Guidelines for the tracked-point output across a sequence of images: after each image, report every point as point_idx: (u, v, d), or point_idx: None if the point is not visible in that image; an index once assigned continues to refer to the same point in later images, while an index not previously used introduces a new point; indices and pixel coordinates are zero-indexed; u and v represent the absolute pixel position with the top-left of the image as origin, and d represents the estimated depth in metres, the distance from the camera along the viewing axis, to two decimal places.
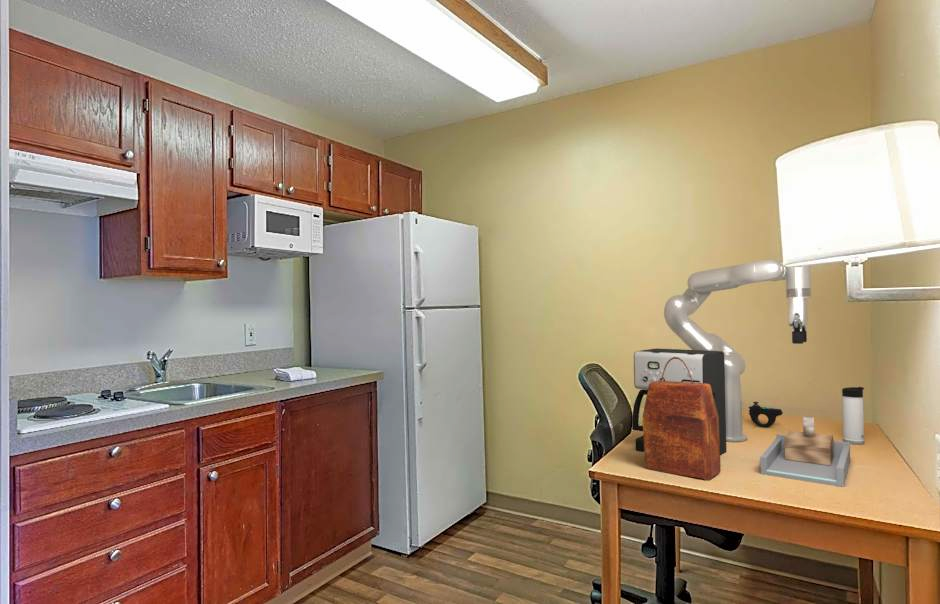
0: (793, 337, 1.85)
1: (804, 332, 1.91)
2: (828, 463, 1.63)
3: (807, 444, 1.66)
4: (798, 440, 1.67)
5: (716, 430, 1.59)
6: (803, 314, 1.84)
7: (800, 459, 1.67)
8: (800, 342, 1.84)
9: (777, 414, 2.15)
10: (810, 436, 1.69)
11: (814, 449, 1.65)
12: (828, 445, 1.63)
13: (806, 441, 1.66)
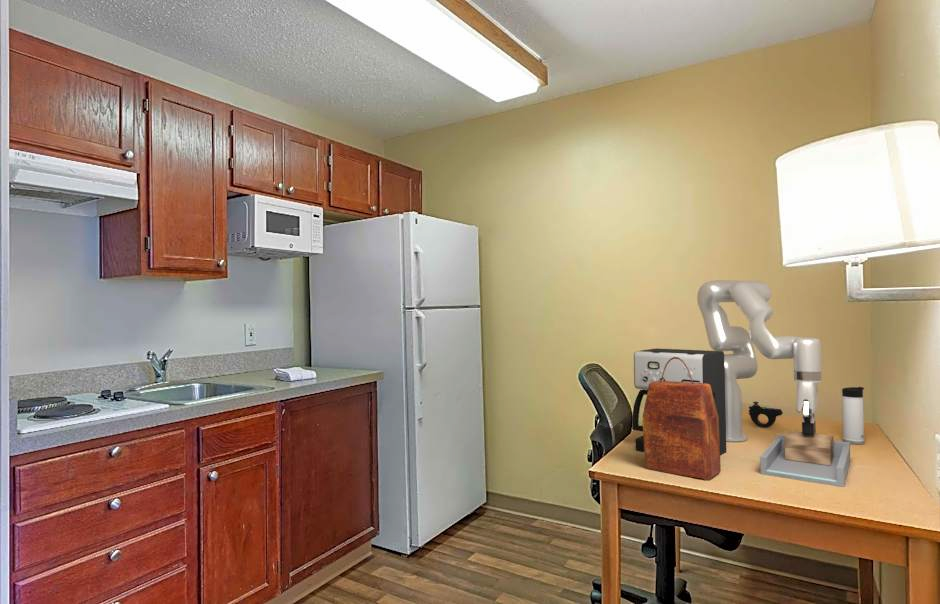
0: (803, 428, 1.69)
1: (813, 423, 1.71)
2: (828, 463, 1.63)
3: (807, 444, 1.66)
4: (798, 440, 1.67)
5: (716, 430, 1.59)
6: (813, 401, 1.66)
7: (800, 459, 1.67)
8: (811, 434, 1.68)
9: (777, 414, 2.15)
10: (810, 436, 1.69)
11: (814, 449, 1.65)
12: (828, 445, 1.63)
13: (806, 441, 1.66)
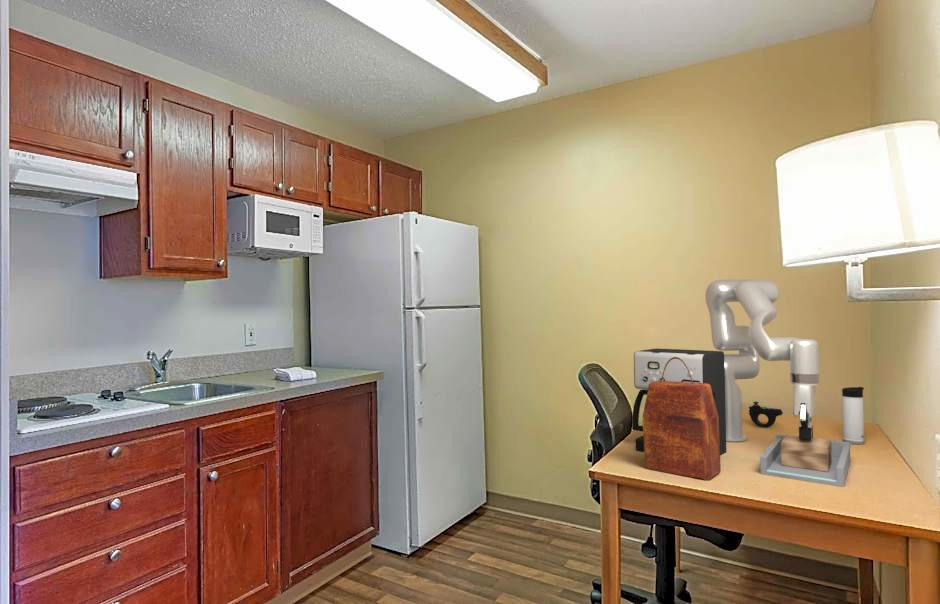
0: (800, 433, 1.63)
1: None
2: (826, 469, 1.57)
3: (804, 449, 1.60)
4: (795, 445, 1.62)
5: (716, 430, 1.59)
6: (810, 405, 1.60)
7: (797, 465, 1.61)
8: (808, 439, 1.62)
9: (777, 414, 2.15)
10: (807, 441, 1.63)
11: (811, 455, 1.59)
12: (826, 450, 1.57)
13: (803, 446, 1.60)
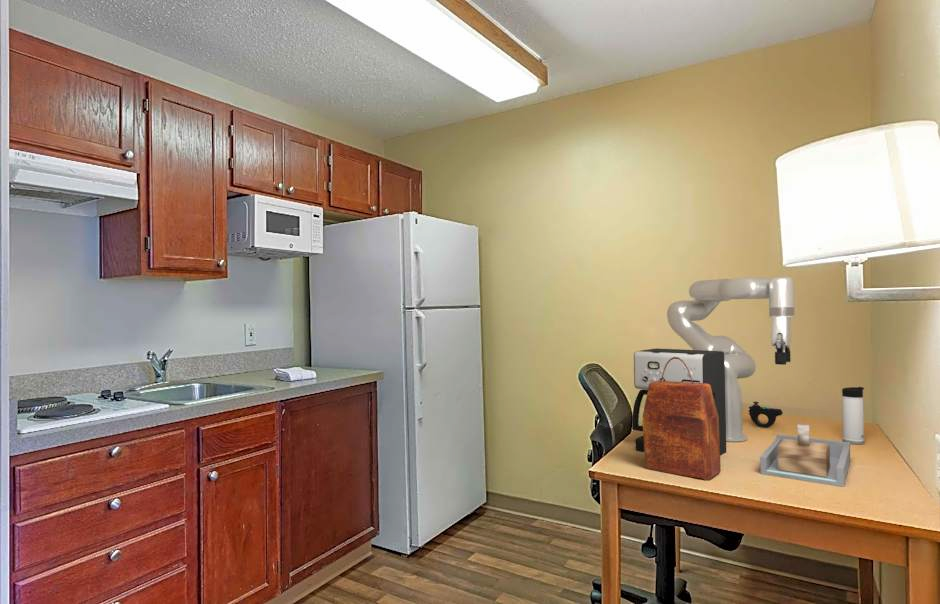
0: (776, 358, 1.79)
1: (788, 352, 1.86)
2: (824, 474, 1.52)
3: (801, 454, 1.55)
4: (792, 449, 1.57)
5: (716, 430, 1.59)
6: (786, 334, 1.78)
7: (794, 470, 1.57)
8: (783, 363, 1.78)
9: (777, 414, 2.15)
10: (805, 445, 1.58)
11: (809, 459, 1.54)
12: (824, 455, 1.52)
13: (800, 451, 1.56)
